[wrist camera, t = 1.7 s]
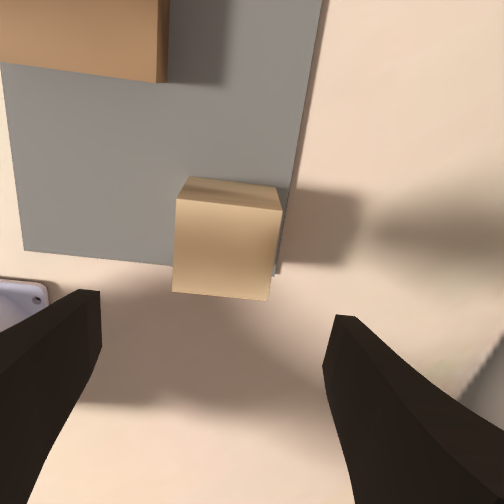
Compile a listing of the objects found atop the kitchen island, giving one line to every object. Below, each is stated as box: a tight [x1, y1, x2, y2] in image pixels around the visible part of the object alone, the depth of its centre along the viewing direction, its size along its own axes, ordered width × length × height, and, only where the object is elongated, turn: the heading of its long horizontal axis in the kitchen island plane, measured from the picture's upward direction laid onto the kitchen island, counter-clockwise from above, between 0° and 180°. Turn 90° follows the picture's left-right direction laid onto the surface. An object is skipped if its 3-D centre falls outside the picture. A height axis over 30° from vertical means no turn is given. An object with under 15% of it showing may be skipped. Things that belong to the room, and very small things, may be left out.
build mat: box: [0, 0, 322, 277], centre depth 18 cm, size 18×14×1 cm
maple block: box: [172, 176, 283, 301], centre depth 19 cm, size 4×4×4 cm
